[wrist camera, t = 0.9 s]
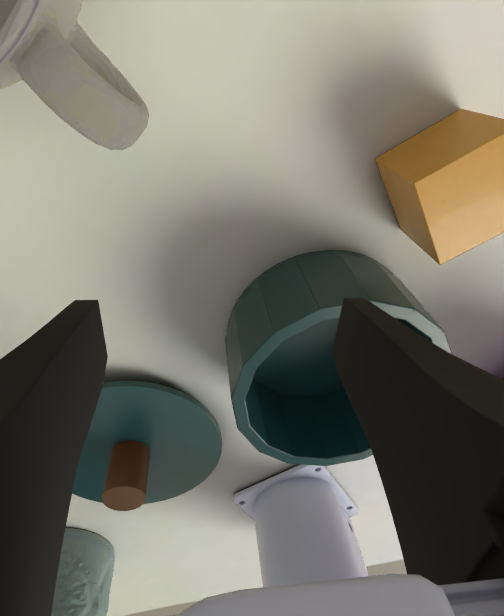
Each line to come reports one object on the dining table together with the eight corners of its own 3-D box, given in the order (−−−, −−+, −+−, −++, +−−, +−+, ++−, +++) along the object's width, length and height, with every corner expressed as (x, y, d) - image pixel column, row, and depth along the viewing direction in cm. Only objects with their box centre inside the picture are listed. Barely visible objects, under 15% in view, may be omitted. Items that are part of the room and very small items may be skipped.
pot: (426, 350, 27) (472, 411, 23) (278, 421, 29) (293, 489, 25) (370, 212, 21) (418, 257, 17) (189, 312, 23) (188, 377, 19)
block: (478, 188, 21) (535, 216, 18) (400, 230, 22) (439, 265, 18) (461, 108, 19) (521, 122, 15) (374, 158, 20) (413, 183, 16)
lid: (251, 449, 31) (259, 505, 27) (120, 510, 33) (110, 570, 29) (150, 342, 24) (142, 397, 20) (-6, 428, 26) (-38, 491, 23)
